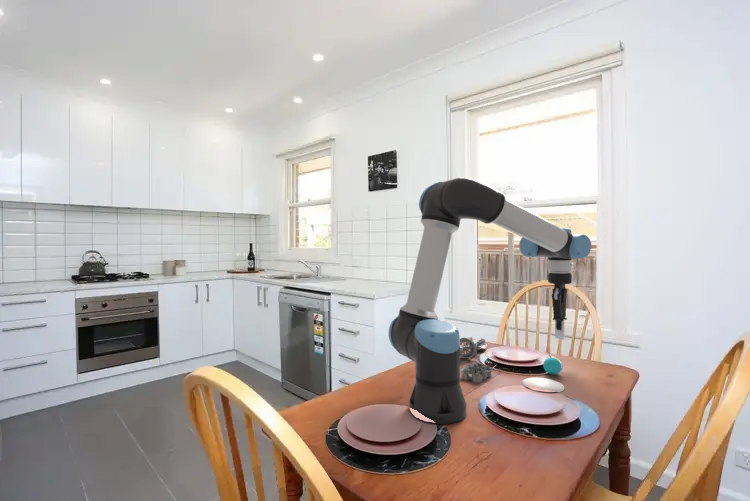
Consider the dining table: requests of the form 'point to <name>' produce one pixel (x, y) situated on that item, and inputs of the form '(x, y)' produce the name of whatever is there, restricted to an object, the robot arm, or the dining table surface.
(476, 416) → the dining table surface
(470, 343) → the spaceship
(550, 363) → the ball
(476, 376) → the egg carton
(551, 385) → the disc
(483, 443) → the dining table surface
